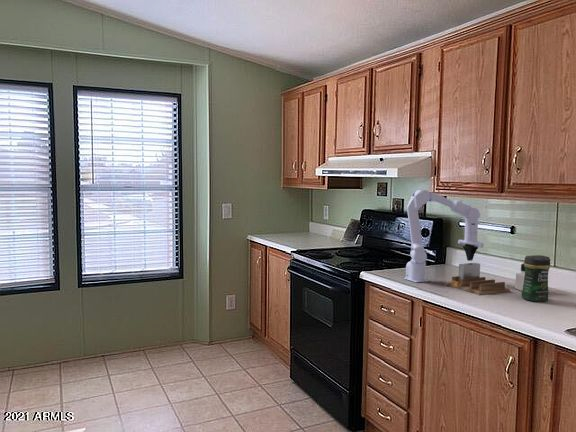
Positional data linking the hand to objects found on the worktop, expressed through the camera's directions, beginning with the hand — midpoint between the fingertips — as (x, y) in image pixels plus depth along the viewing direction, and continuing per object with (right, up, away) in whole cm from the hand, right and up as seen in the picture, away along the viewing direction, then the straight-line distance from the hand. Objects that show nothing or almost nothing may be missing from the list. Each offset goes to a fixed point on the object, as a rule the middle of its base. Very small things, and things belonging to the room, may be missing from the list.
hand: (469, 260), depth 233 cm
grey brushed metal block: (-3, -10, -8) cm, 13 cm away
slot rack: (-1, -11, -13) cm, 17 cm away
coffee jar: (+15, -14, -33) cm, 38 cm away
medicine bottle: (+20, -12, -15) cm, 28 cm away
